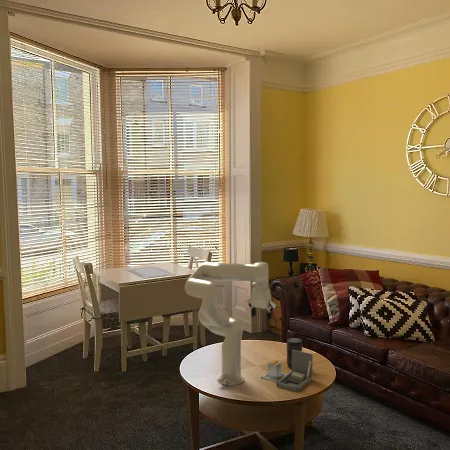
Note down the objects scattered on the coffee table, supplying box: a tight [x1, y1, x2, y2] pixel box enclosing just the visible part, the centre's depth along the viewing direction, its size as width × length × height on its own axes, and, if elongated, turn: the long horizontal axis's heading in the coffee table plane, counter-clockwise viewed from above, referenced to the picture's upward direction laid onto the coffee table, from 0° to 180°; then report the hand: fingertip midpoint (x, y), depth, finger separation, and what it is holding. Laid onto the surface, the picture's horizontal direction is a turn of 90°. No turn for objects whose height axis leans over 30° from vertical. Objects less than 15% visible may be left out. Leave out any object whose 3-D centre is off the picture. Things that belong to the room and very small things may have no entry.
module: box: [267, 359, 282, 380], centre depth 243 cm, size 5×5×8 cm
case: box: [276, 350, 314, 393], centre depth 235 cm, size 17×11×14 cm, turn 147°
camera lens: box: [286, 337, 303, 370], centre depth 256 cm, size 8×8×15 cm
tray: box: [260, 371, 288, 383], centre depth 243 cm, size 10×10×1 cm
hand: (261, 317), depth 256 cm, fingers open, 9 cm apart
